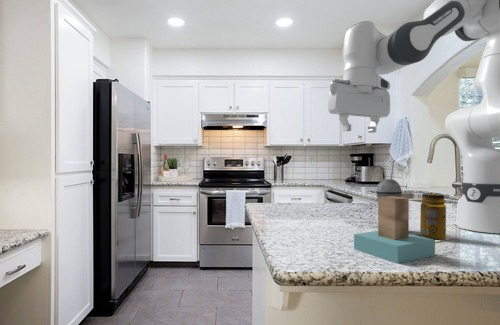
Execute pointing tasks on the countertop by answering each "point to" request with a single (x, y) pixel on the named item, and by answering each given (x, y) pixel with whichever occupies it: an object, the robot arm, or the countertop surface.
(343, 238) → the countertop surface
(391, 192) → the beverage cup
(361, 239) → the base slab
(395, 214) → the walnut block
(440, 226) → the condiment
